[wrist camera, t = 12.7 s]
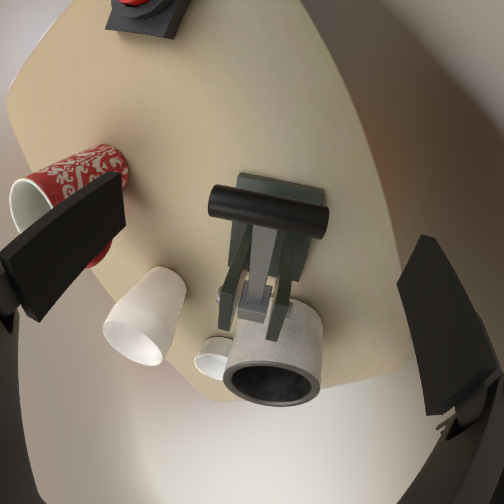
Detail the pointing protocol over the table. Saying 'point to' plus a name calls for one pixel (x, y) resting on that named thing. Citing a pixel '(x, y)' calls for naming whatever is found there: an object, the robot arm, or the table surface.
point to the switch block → (148, 17)
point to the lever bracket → (283, 258)
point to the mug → (63, 185)
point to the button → (133, 2)
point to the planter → (277, 359)
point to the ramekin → (213, 357)
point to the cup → (147, 317)
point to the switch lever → (264, 235)
